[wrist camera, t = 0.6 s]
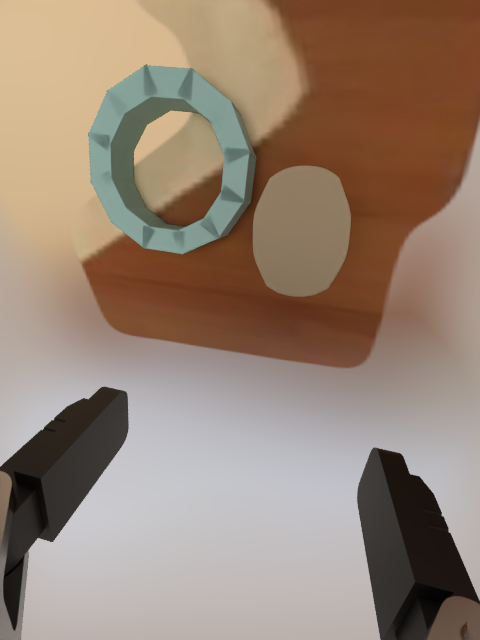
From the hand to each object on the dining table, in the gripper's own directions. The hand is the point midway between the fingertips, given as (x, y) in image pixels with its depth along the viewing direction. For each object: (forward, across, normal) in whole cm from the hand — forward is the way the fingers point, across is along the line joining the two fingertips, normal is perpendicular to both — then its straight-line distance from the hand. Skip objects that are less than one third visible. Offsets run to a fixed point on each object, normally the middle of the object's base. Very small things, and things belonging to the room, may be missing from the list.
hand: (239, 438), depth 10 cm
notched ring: (+24, +11, -8) cm, 28 cm away
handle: (+24, -1, -5) cm, 25 cm away
